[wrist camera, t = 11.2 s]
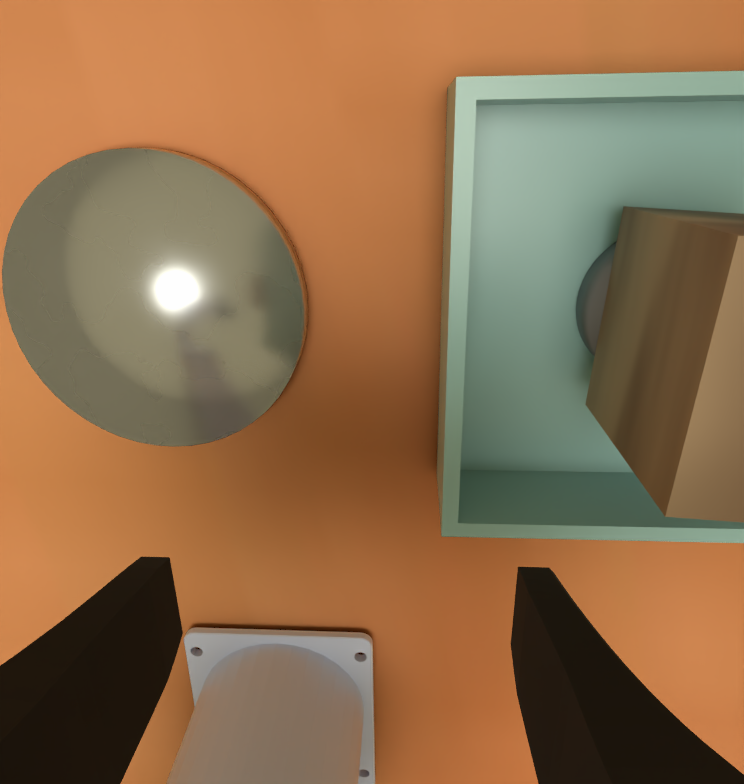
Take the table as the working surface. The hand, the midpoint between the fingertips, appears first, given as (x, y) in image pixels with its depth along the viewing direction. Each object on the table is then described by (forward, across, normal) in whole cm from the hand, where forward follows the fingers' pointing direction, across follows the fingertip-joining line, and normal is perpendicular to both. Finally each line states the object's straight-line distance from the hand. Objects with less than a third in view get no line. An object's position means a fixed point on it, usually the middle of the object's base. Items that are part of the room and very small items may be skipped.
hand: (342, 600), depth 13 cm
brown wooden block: (+10, -9, -4) cm, 14 cm away
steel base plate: (+10, +7, -4) cm, 13 cm away
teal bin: (+10, -9, -4) cm, 14 cm away
